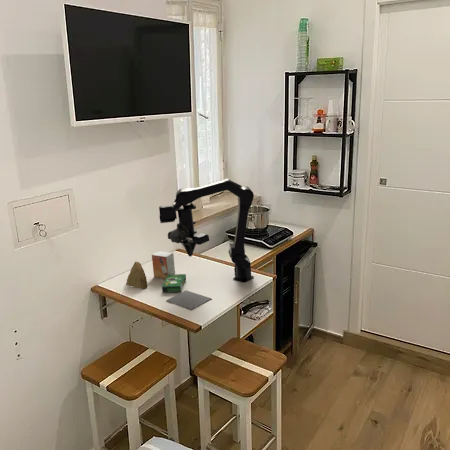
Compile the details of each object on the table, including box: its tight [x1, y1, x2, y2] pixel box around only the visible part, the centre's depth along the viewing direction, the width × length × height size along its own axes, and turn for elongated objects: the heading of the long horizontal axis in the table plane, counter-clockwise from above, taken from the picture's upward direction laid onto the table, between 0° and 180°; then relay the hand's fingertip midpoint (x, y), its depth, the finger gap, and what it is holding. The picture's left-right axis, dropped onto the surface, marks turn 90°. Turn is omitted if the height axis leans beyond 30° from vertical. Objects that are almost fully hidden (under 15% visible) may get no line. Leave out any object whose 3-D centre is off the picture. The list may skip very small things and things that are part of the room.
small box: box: [151, 250, 176, 280], centre depth 211 cm, size 8×6×10 cm
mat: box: [166, 289, 212, 311], centre depth 187 cm, size 14×11×1 cm
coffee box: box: [161, 273, 187, 293], centre depth 200 cm, size 8×3×13 cm
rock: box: [125, 261, 148, 290], centre depth 203 cm, size 11×9×10 cm
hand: (190, 256), depth 198 cm, fingers closed
